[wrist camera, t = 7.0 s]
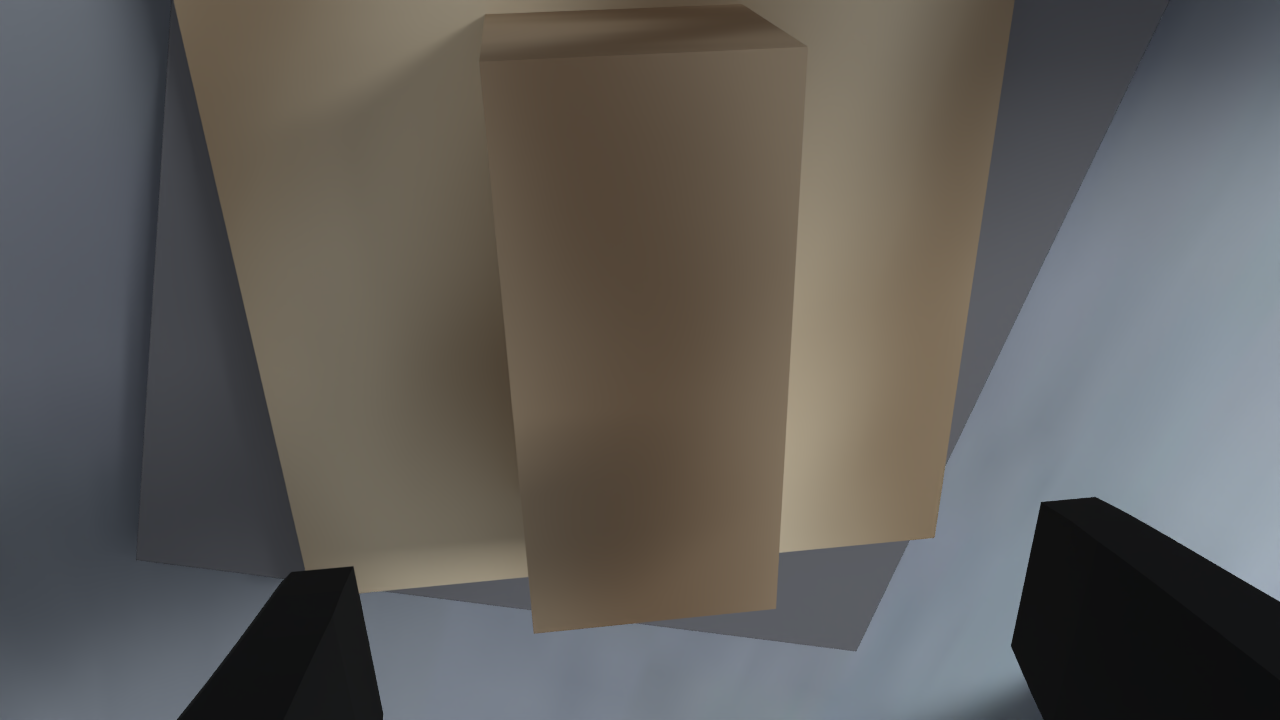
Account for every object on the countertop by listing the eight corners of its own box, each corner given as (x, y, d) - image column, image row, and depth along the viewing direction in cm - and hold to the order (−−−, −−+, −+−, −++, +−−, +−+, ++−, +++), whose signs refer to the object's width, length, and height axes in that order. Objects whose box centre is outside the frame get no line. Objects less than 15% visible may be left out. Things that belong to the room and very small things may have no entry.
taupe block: (1011, -147, 16) (1191, -146, 11) (920, 515, 22) (1016, 669, 18) (162, -126, 14) (27, -116, 10) (318, 571, 20) (271, 751, 16)
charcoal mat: (1175, -52, 17) (1193, -49, 17) (849, 636, 24) (856, 651, 23) (205, -378, 13) (195, -385, 13) (144, 544, 20) (135, 560, 20)
